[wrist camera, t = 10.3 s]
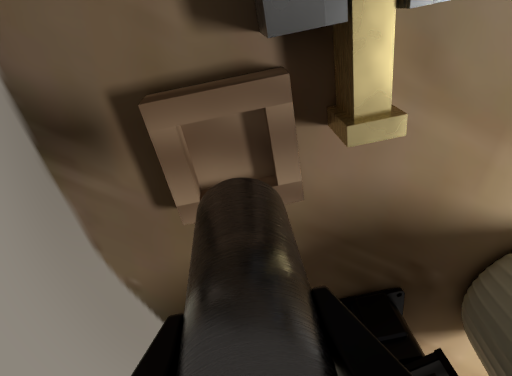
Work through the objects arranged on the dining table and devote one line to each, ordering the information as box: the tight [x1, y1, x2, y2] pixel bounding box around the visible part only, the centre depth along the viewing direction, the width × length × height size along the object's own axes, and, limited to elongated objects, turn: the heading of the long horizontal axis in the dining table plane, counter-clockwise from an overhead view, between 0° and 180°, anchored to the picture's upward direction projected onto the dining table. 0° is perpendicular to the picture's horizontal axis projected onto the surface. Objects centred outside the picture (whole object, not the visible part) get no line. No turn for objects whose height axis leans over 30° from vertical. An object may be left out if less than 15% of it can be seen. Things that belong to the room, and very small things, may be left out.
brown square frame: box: [138, 67, 304, 225], centre depth 19 cm, size 8×8×2 cm
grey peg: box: [177, 177, 338, 376], centre depth 8 cm, size 4×4×11 cm
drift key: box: [327, 0, 408, 147], centre depth 16 cm, size 9×3×4 cm, turn 10°
